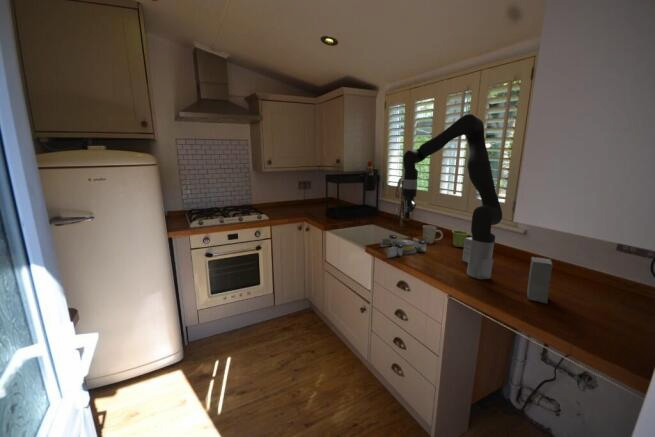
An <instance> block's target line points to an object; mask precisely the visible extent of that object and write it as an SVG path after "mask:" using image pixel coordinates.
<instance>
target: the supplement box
mask: <svg viewBox="0 0 655 437" xmlns="http://www.w3.org/2000/svg"><path fill="white" fill-rule="evenodd" d="M471 241H472V236H471V237H467V238H465V243H464V247H463V251H462V258H461V260H462V261H463V262H465V263H467V264H468V261H469V254H470V247H471Z"/></svg>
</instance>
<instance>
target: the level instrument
mask: <svg viewBox="0 0 655 437" xmlns="http://www.w3.org/2000/svg"><path fill="white" fill-rule="evenodd" d="M396 243H399V244H403V245H404V247H403V254H402V256H403V255H405V256H406V255H407V256H410V255H415V254H417V252H418V249H417V248H415V247H414V245H415V243H414V242H413V240H410V239H401V238H400V239H398V238H397V240H395V244H396ZM394 246H395V245H394ZM394 246H391V247H394Z"/></svg>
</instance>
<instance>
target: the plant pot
mask: <svg viewBox="0 0 655 437" xmlns="http://www.w3.org/2000/svg"><path fill="white" fill-rule="evenodd" d="M451 232H452V239H453V240H452V241H453V242H452V244H453V245H452V246H454V247H457V248H464V243H465V238H468V236H469V235H470V234H469V233H470V232H467V231H463V230H452V231H451Z"/></svg>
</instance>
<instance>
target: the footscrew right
mask: <svg viewBox="0 0 655 437" xmlns="http://www.w3.org/2000/svg"><path fill="white" fill-rule="evenodd" d="M412 241H413V242H414V243H415V245H414V248H416V249H417V252H420V253H425V252H426V251H427V244H428V243H427V241H425V240H423V239H418V238H416V237H413V238H412Z"/></svg>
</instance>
